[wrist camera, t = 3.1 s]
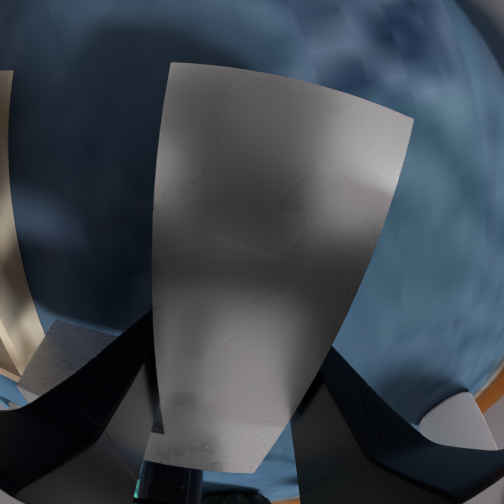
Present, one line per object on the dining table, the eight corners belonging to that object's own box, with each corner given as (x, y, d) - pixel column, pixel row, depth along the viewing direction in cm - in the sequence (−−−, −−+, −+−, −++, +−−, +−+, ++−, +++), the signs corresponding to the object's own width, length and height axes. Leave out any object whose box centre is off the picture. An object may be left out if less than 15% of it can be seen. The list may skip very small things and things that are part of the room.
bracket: (251, 402, 13) (253, 473, 9) (72, 367, 12) (46, 427, 8) (336, 111, 7) (413, 119, 3) (33, 89, 6) (-58, 102, 2)
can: (423, 407, 19) (460, 513, 9) (477, 380, 19) (521, 473, 8) (412, 432, 22) (440, 520, 12) (460, 409, 22) (493, 489, 11)
